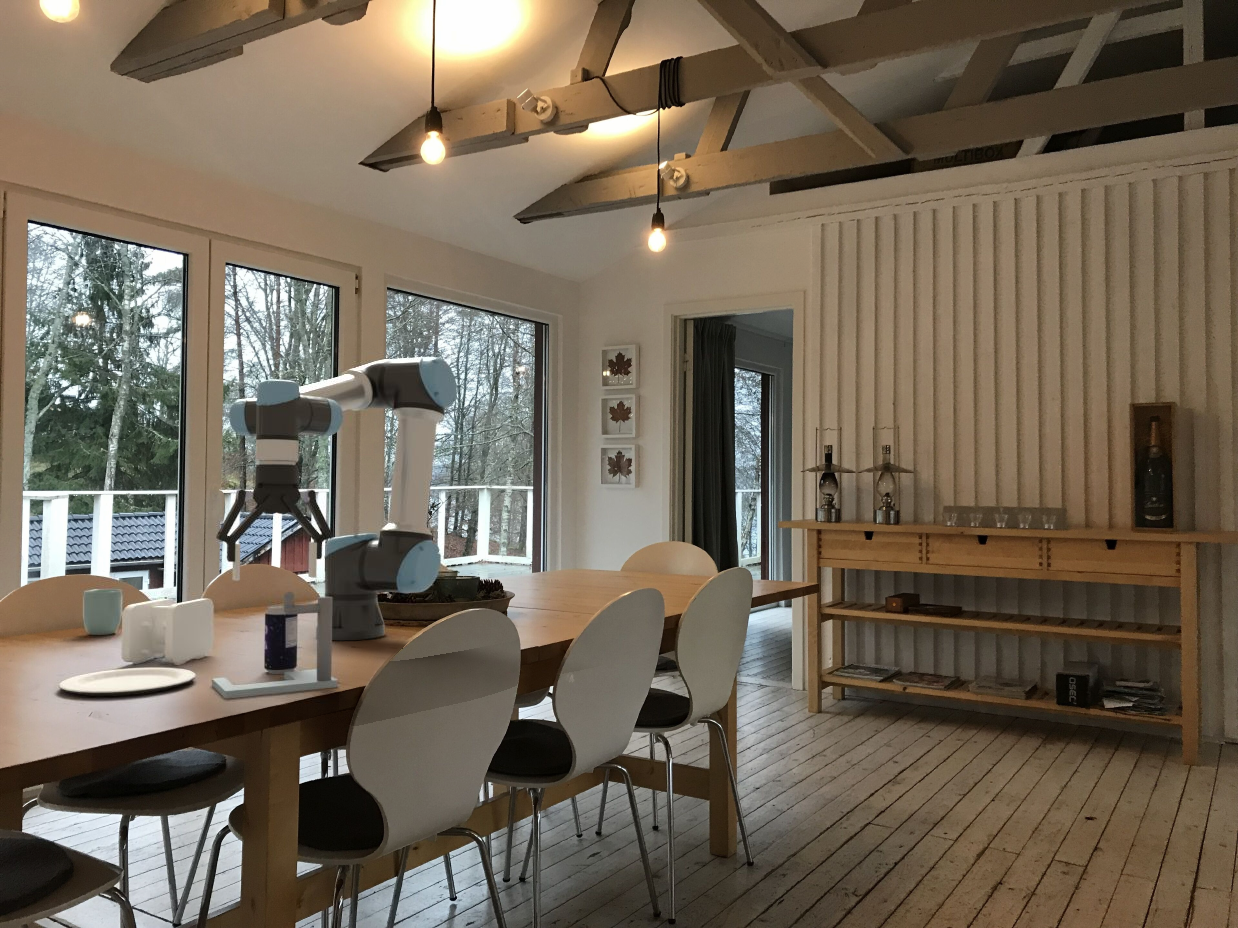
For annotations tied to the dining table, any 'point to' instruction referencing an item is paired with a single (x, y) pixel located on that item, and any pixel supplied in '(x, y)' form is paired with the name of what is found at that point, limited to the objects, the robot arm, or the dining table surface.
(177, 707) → the dining table surface
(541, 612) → the dining table surface
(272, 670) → the beverage can
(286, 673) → the l-shaped desk stand
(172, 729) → the dining table surface
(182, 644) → the cable organizer
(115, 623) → the cup
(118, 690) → the plate
